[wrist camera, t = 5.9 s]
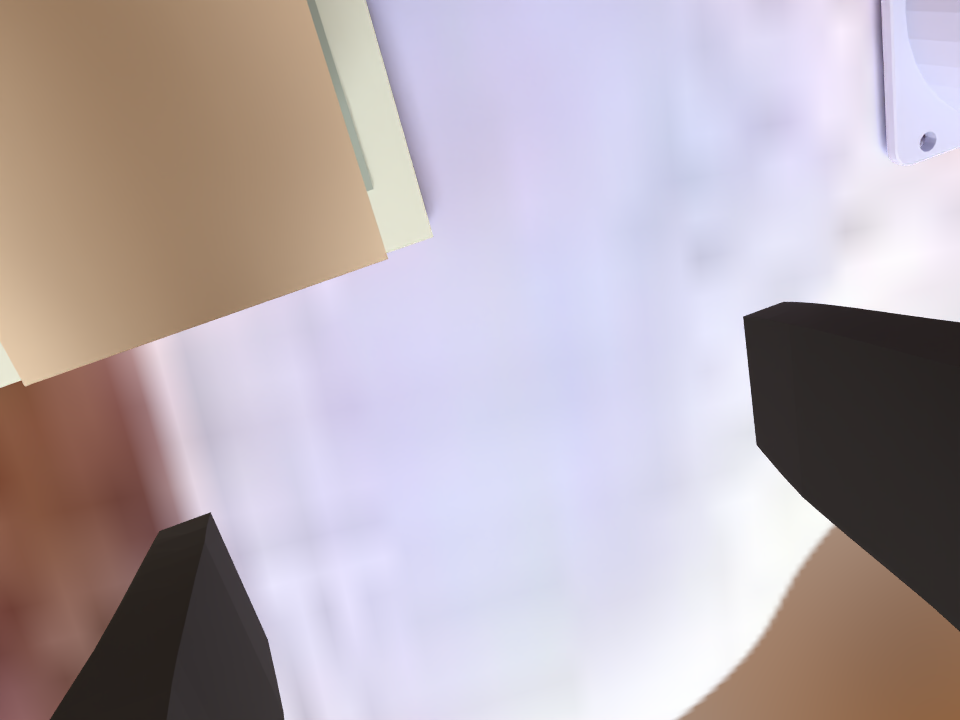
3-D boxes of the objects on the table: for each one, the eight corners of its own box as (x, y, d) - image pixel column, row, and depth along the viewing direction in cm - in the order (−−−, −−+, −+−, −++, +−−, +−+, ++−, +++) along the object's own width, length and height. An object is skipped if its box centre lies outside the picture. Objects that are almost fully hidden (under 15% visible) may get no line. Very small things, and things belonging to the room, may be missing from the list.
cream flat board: (309, -183, 17) (313, -188, 16) (428, 232, 21) (434, 237, 20) (-317, -25, 15) (-331, -25, 15) (-59, 401, 19) (-64, 411, 18)
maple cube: (233, -104, 13) (261, -142, 9) (330, 187, 15) (388, 259, 11) (-82, -19, 12) (-200, -22, 8) (64, 276, 14) (25, 386, 10)
